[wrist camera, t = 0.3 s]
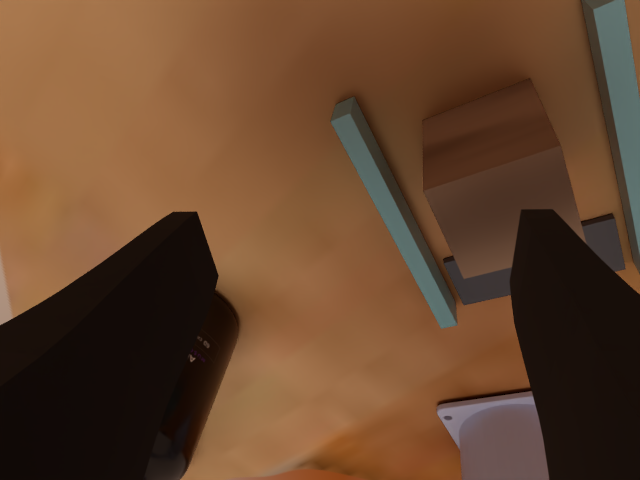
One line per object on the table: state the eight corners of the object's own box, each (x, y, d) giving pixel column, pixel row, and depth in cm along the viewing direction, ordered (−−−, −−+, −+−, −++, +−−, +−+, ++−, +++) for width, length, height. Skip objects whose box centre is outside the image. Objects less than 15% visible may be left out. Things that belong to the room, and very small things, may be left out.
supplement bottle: (221, 270, 26) (113, 504, 17) (254, 351, 30) (181, 575, 21) (108, 273, 28) (-45, 488, 19) (154, 350, 32) (48, 557, 23)
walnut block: (554, 167, 19) (587, 248, 16) (455, 198, 21) (463, 279, 17) (529, 77, 17) (560, 145, 14) (422, 119, 19) (423, 190, 15)
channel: (654, 257, 21) (667, 281, 20) (440, 306, 25) (441, 328, 24) (608, -16, 15) (623, -4, 14) (335, 104, 19) (330, 121, 18)
